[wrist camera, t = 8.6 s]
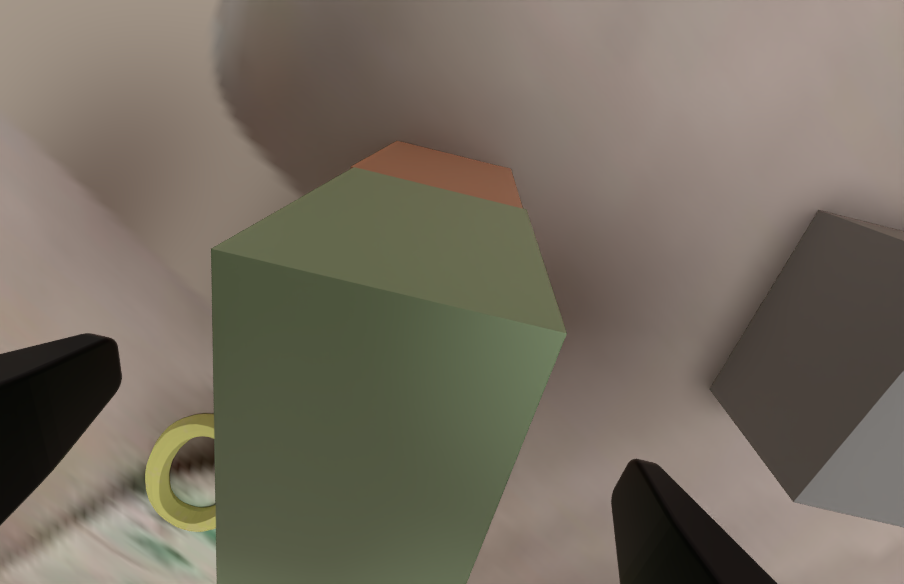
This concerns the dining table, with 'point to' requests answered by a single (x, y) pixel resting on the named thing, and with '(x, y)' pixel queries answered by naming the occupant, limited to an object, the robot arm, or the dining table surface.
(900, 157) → the dining table surface
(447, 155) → the rust brick
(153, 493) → the key
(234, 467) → the green brick
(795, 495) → the gray brick
